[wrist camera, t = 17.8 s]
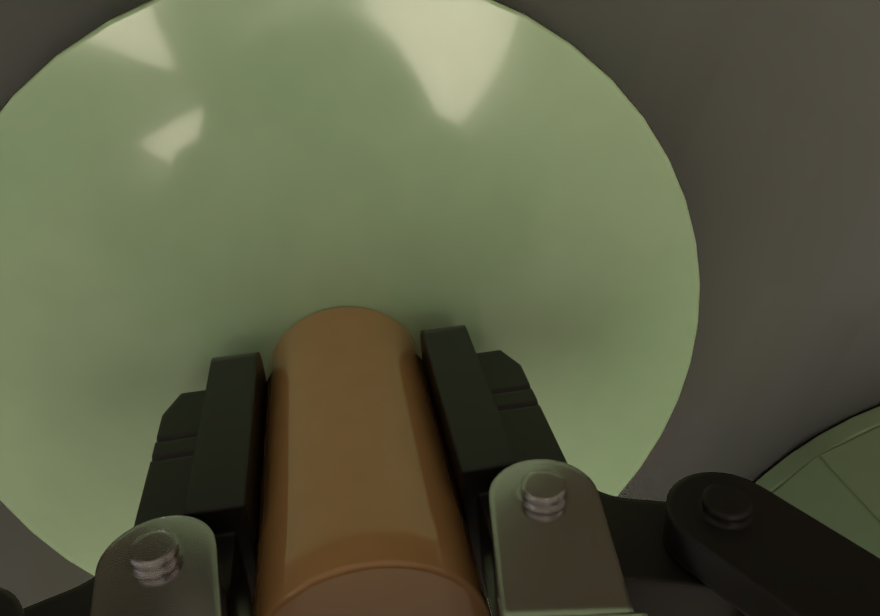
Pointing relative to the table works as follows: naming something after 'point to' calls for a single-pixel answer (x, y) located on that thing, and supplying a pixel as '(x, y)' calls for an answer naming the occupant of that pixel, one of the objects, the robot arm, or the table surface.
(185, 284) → the lid
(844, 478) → the canister
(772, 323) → the table surface
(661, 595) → the robot arm
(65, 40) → the table surface
